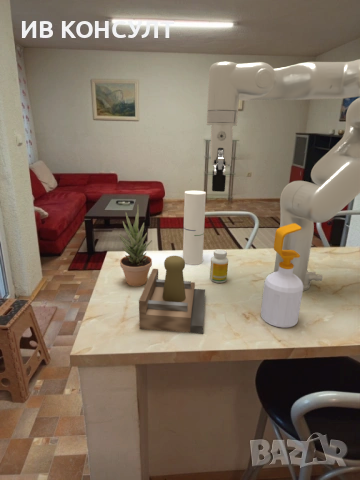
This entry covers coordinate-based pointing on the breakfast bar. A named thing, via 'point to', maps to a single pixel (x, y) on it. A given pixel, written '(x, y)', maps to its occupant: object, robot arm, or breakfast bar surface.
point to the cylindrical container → (193, 226)
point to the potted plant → (135, 254)
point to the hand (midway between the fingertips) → (218, 187)
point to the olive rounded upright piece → (174, 279)
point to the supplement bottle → (219, 266)
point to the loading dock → (171, 308)
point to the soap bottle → (282, 286)
